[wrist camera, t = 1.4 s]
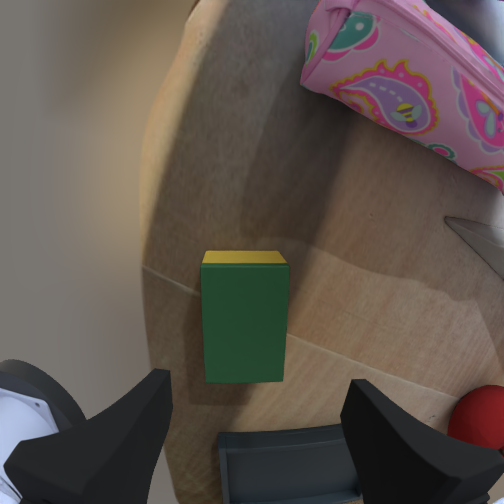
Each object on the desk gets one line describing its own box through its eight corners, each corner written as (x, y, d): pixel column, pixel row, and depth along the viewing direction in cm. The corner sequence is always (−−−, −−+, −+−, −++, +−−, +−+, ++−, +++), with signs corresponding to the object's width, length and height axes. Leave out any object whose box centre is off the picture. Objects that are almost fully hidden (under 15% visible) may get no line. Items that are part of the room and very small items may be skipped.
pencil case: (516, 129, 19) (587, 123, 10) (500, 218, 20) (578, 235, 12) (313, 0, 16) (354, -77, 7) (275, 101, 18) (311, 38, 9)
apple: (499, 395, 25) (545, 437, 15) (445, 447, 26) (484, 498, 16) (486, 357, 23) (547, 405, 14) (423, 419, 24) (472, 483, 14)
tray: (224, 501, 25) (224, 515, 23) (218, 432, 22) (218, 448, 20) (357, 486, 26) (362, 498, 24) (385, 415, 23) (394, 428, 21)
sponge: (208, 350, 21) (205, 383, 17) (205, 250, 19) (199, 266, 15) (274, 349, 21) (283, 381, 17) (278, 250, 20) (290, 266, 16)
